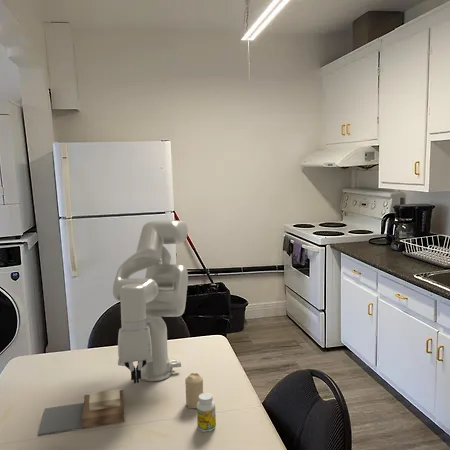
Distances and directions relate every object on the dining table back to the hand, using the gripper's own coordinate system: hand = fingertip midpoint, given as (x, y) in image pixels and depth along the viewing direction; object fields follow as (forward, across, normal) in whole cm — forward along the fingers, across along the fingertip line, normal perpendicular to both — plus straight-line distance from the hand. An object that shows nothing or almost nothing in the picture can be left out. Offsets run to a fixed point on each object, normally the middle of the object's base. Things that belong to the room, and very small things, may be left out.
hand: (136, 381), depth 136 cm
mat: (+9, +22, -1) cm, 24 cm away
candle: (+9, -18, +2) cm, 20 cm away
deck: (+9, +10, -1) cm, 14 cm away
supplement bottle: (+10, -19, +15) cm, 26 cm away
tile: (+5, +10, -1) cm, 11 cm away
